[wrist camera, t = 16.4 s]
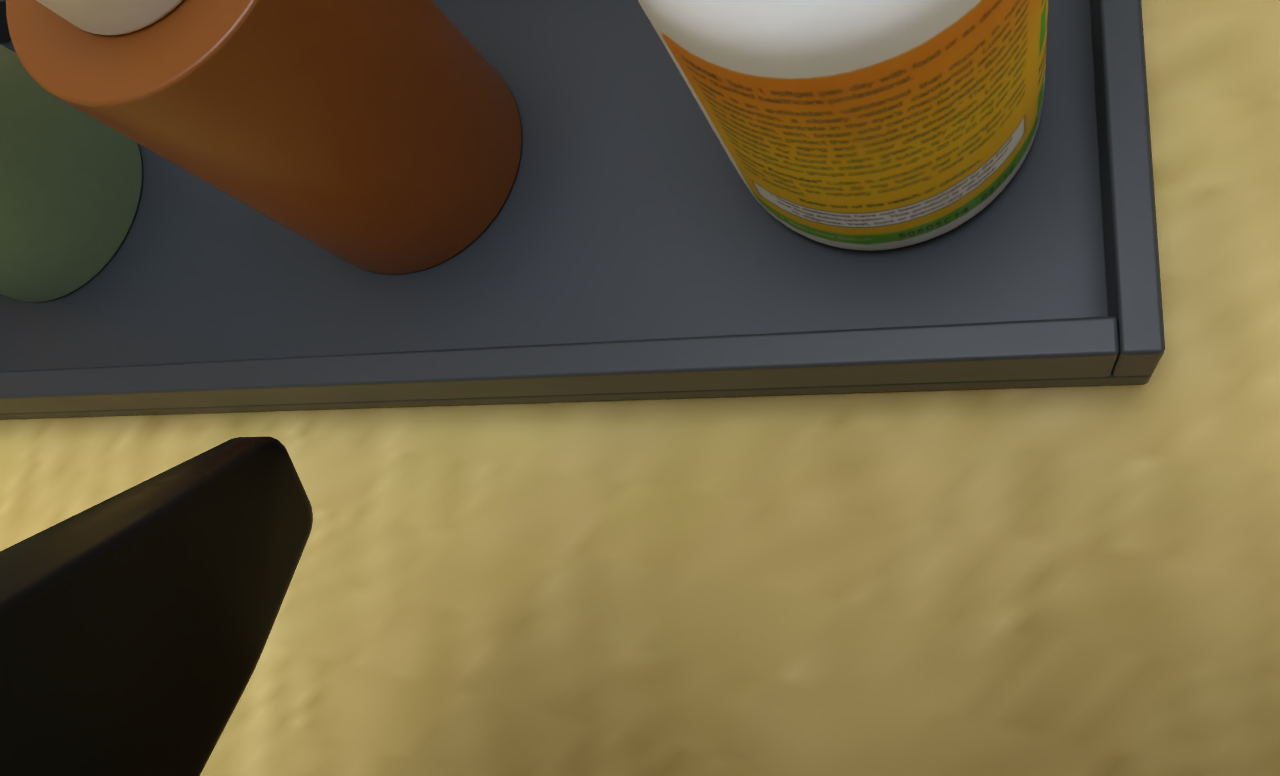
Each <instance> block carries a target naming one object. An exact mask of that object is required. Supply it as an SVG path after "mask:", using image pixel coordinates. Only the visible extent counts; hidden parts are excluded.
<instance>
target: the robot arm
mask: <svg viewBox="0 0 1280 776" xmlns="http://www.w3.org/2000/svg"><path fill="white" fill-rule="evenodd" d="M312 522H313V513H312V507H311V504H310V501H309V499H308V497H307V495H306V492H305V490H304V488H303V486H302V483H301V481H300V479H299V477H298V474H297V472H296V470H295V468H294V465H293V463H292V461H291V459H290V457H289V454H288V452H287V450H286V448H285V447H284V446H283V445H282V444H281V443H280V442H279V441H278V440H277V439H274V438H272V437H238V438H234V439H231V440H229V441H227V442H224V443H222V444H220V445H218V446H216V447H214V448H212V449H210V450H208V451H206V452H204V453H202V454H200V455H198V456H196V457H194V458H192V459H190V460H188V461H185V462H183V463H181V464H179V465H177V466H175V467H173V468H171V469H169V470H167V471H165V472H163V473H161V474H159V475H157V476H155V477H153V478H151V479H149V480H146V481H144V482H142V483H140V484H138V485H136V486H134V487H132V488H130V489H128V490H126V491H124V492H122V493H120V494H118V495H116V496H114V497H112V498H110V499H107V500H105V501H103V502H101V503H99V504H97V505H95V506H93V507H91V508H89V509H87V510H85V511H83V512H81V513H79V514H77V515H75V516H73V517H70V518H68V519H66V520H64V521H62V522H60V523H58V524H56V525H54V526H52V527H50V528H48V529H46V530H44V531H42V532H40V533H38V534H36V535H34V536H31V537H29V538H27V539H25V540H23V541H21V542H19V543H17V544H15V545H13V546H11V547H9V548H7V549H5V550H3V551H1V552H0V776H200V774H201V772H202V770H203V768H204V766H205V764H206V763H207V761H208V759H209V757H210V755H211V753H212V751H213V749H214V747H215V745H216V743H217V741H218V739H219V738H220V736H221V734H222V732H223V730H224V728H225V726H226V724H227V722H228V720H229V718H230V716H231V715H232V713H233V711H234V709H235V707H236V705H237V703H238V701H239V699H240V697H241V695H242V693H243V691H244V689H245V687H246V685H247V683H248V681H249V679H250V677H251V675H252V673H253V671H254V669H255V667H256V665H257V662H258V660H259V658H260V655H261V653H262V651H263V649H264V646H265V644H266V641H267V639H268V636H269V634H270V631H271V629H272V626H273V624H274V622H275V619H276V617H277V614H278V612H279V609H280V607H281V604H282V602H283V599H284V597H285V594H286V592H287V589H288V587H289V584H290V582H291V579H292V577H293V575H294V572H295V570H296V567H297V565H298V562H299V560H300V557H301V555H302V552H303V550H304V547H305V545H306V542H307V540H308V537H309V535H310V532H311V528H312Z"/></svg>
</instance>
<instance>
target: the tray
mask: <svg viewBox="0 0 1280 776" xmlns="http://www.w3.org/2000/svg"><path fill="white" fill-rule="evenodd" d="M432 1H433V2H434V3H435V4H436V5H437V6H438V7H439V9H440V10H441V11H442V12H443V13H444V14H445V15H446V16H447V17H448V18H449V20H450V21H451V22H452V23H453V24H454V25H455V26H456V27H457V28H458V29H459V31H460V32H461V33H462V34H463V35H464V36H465V37H466V38H467V39H468V41H469V42H470V43H471V44H472V45H473V46H474V47H475V48H476V49H477V50H478V52H479V53H480V54H481V55H482V56H483V57H484V58H485V59H486V60H487V61H488V63H489V64H490V65H491V66H492V67H493V68H494V69H495V70H496V71H497V72H498V74H499V75H500V76H501V77H502V79H503V80H504V81H505V83H506V84H507V86H508V87H509V89H510V91H511V93H512V95H513V97H514V100H515V103H516V105H517V108H518V112H519V117H520V122H521V136H522V143H521V156H520V161H519V166H518V171H517V174H516V177H515V180H514V183H513V186H512V188H511V190H510V192H509V195H508V197H507V199H506V201H505V203H504V204H503V206H502V208H501V209H500V211H499V213H498V214H497V216H496V217H495V218H494V219H493V221H492V222H491V223H490V225H489V226H488V227H487V228H486V229H485V230H484V232H483V233H482V234H481V235H480V236H479V237H478V238H477V239H476V240H475V241H473V242H472V243H471V244H470V245H469V246H467V247H466V248H465V249H464V250H462V251H461V252H459V253H458V254H456V255H455V256H453V257H452V258H450V259H448V260H446V261H444V262H442V263H440V264H438V265H436V266H433V267H430V268H427V269H424V270H421V271H416V272H411V273H405V274H381V273H375V272H371V271H366V270H364V269H361V268H359V267H356V266H354V265H352V264H350V263H348V262H347V261H345V260H343V259H341V258H340V257H338V256H336V255H334V254H333V253H331V252H329V251H327V250H325V249H324V248H322V247H320V246H318V245H317V244H315V243H313V242H311V241H310V240H308V239H306V238H304V237H302V236H301V235H299V234H297V233H295V232H294V231H292V230H290V229H288V228H287V227H285V226H283V225H281V224H280V223H278V222H276V221H274V220H272V219H271V218H269V217H267V216H265V215H264V214H262V213H260V212H258V211H257V210H255V209H253V208H251V207H250V206H248V205H246V204H244V203H242V202H241V201H239V200H237V199H235V198H234V197H232V196H230V195H228V194H227V193H225V192H223V191H221V190H219V189H218V188H216V187H214V186H212V185H211V184H209V183H207V182H205V181H204V180H202V179H200V178H198V177H197V176H195V175H193V174H191V173H189V172H188V171H186V170H184V169H182V168H181V167H179V166H177V165H175V164H174V163H172V162H170V161H168V160H167V159H165V158H163V157H161V156H159V155H158V154H156V153H154V152H152V151H151V150H149V149H147V148H145V147H144V146H142V145H140V144H138V146H139V149H140V154H141V159H142V171H143V174H142V189H141V195H140V200H139V204H138V208H137V212H136V214H135V217H134V220H133V223H132V225H131V227H130V229H129V231H128V233H127V235H126V238H125V239H124V241H123V243H122V244H121V246H120V247H119V249H118V251H117V252H116V253H115V255H114V256H113V257H112V259H111V260H110V261H109V262H108V264H107V265H106V266H105V267H104V268H103V269H102V270H101V271H100V272H99V273H98V274H97V275H96V276H95V277H93V278H92V279H91V280H90V281H89V282H87V283H86V284H85V285H83V286H82V287H80V288H79V289H77V290H75V291H73V292H71V293H70V294H68V295H65V296H62V297H60V298H57V299H53V300H49V301H44V302H24V301H19V300H16V299H12V298H9V297H7V296H4V295H1V294H0V419H28V418H61V417H93V416H125V415H157V414H189V413H222V412H254V411H286V410H318V409H351V408H383V407H415V406H447V405H480V404H512V403H544V402H576V401H608V400H641V399H673V398H705V397H737V396H770V395H802V394H834V393H866V392H899V391H931V390H963V389H995V388H1027V387H1060V386H1092V385H1124V384H1145V383H1147V382H1148V381H1149V379H1150V377H1151V375H1152V373H1153V371H1154V369H1155V368H1156V366H1157V364H1158V362H1159V360H1160V358H1161V356H1162V355H1163V353H1164V350H1165V340H1164V326H1163V311H1162V297H1161V282H1160V268H1159V253H1158V239H1157V224H1156V210H1155V195H1154V181H1153V166H1152V152H1151V137H1150V123H1149V108H1148V94H1147V79H1146V65H1145V50H1144V36H1143V21H1142V7H1141V0H1048V18H1047V41H1046V70H1045V87H1044V97H1043V105H1042V112H1041V116H1040V121H1039V126H1038V129H1037V132H1036V135H1035V138H1034V141H1033V143H1032V145H1031V148H1030V150H1029V152H1028V154H1027V156H1026V158H1025V160H1024V161H1023V163H1022V165H1021V166H1020V168H1019V169H1018V171H1017V172H1016V174H1015V175H1014V177H1013V178H1012V179H1011V180H1010V182H1009V183H1008V184H1007V186H1006V187H1005V188H1004V189H1003V191H1002V192H1001V193H1000V194H999V195H998V196H997V197H996V198H995V199H994V200H993V201H992V202H991V203H990V204H988V205H987V206H986V207H985V208H984V209H983V210H982V211H980V212H979V213H978V214H976V215H975V216H974V217H972V218H970V219H969V220H967V221H966V222H964V223H963V224H961V225H959V226H958V227H956V228H955V229H953V230H950V231H948V232H946V233H944V234H942V235H940V236H937V237H935V238H932V239H930V240H927V241H924V242H920V243H917V244H914V245H910V246H905V247H901V248H896V249H890V250H877V251H864V250H851V249H844V248H838V247H833V246H830V245H826V244H823V243H820V242H817V241H814V240H812V239H810V238H807V237H805V236H803V235H801V234H799V233H797V232H795V231H793V230H792V229H790V228H788V227H787V226H785V225H784V224H783V223H781V222H780V221H778V220H777V219H776V218H774V217H773V216H772V215H771V214H770V213H769V212H767V211H766V210H765V209H764V208H763V206H762V205H761V204H760V203H759V202H758V201H757V200H756V199H755V197H754V196H753V195H752V193H751V192H750V190H749V189H748V187H747V186H746V184H745V183H744V181H743V180H742V178H741V177H740V175H739V173H738V172H737V170H736V169H735V167H734V165H733V163H732V162H731V160H730V158H729V157H728V155H727V153H726V151H725V150H724V148H723V146H722V145H721V143H720V141H719V139H718V138H717V136H716V134H715V132H714V131H713V129H712V127H711V125H710V124H709V122H708V120H707V118H706V117H705V115H704V113H703V111H702V110H701V108H700V106H699V104H698V103H697V101H696V99H695V97H694V96H693V94H692V92H691V91H690V89H689V87H688V85H687V84H686V82H685V80H684V78H683V77H682V75H681V73H680V71H679V70H678V68H677V66H676V65H675V63H674V61H673V59H672V58H671V56H670V54H669V52H668V51H667V49H666V47H665V46H664V44H663V42H662V40H661V39H660V37H659V35H658V34H657V32H656V30H655V29H654V27H653V25H652V24H651V22H650V20H649V19H648V17H647V15H646V14H645V12H644V10H643V9H642V7H641V5H640V3H639V2H638V0H432ZM0 44H1V45H3V46H4V47H6V48H8V49H9V50H11V51H13V52H15V50H14V46H13V43H12V40H11V37H10V34H9V29H8V23H7V17H6V0H0ZM15 53H16V52H15Z"/></svg>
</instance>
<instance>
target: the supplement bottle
mask: <svg viewBox="0 0 1280 776" xmlns="http://www.w3.org/2000/svg"><path fill="white" fill-rule="evenodd" d="M638 2H639V3H640V5H641V7H642V9H643V10H644V12H645V14H646V15H647V17H648V19H649V20H650V22H651V24H652V25H653V27H654V29H655V30H656V32H657V34H658V35H659V37H660V39H661V40H662V42H663V44H664V46H665V47H666V49H667V51H668V52H669V54H670V56H671V58H672V59H673V61H674V63H675V65H676V66H677V68H678V70H679V71H680V73H681V75H682V77H683V78H684V80H685V82H686V84H687V85H688V87H689V89H690V91H691V92H692V94H693V96H694V97H695V99H696V101H697V103H698V104H699V106H700V108H701V110H702V111H703V113H704V115H705V117H706V118H707V120H708V122H709V124H710V125H711V127H712V129H713V131H714V132H715V134H716V136H717V138H718V139H719V141H720V143H721V145H722V146H723V148H724V150H725V151H726V153H727V155H728V157H729V158H730V160H731V162H732V163H733V165H734V167H735V169H736V170H737V172H738V173H739V175H740V177H741V178H742V180H743V181H744V183H745V184H746V186H747V187H748V189H749V190H750V192H751V193H752V195H753V196H754V197H755V199H756V200H757V201H758V202H759V203H760V204H761V205H762V206H763V208H764V209H765V210H766V211H767V212H769V213H770V214H771V215H772V216H773V217H774V218H776V219H777V220H778V221H780V222H781V223H783V224H784V225H785V226H787V227H788V228H790V229H792V230H793V231H795V232H797V233H799V234H801V235H803V236H805V237H807V238H810V239H812V240H814V241H817V242H820V243H823V244H826V245H830V246H833V247H838V248H844V249H851V250H864V251H877V250H890V249H896V248H901V247H905V246H910V245H914V244H917V243H920V242H924V241H927V240H930V239H932V238H935V237H937V236H940V235H942V234H944V233H946V232H948V231H950V230H953V229H955V228H956V227H958V226H959V225H961V224H963V223H964V222H966V221H967V220H969V219H970V218H972V217H974V216H975V215H976V214H978V213H979V212H980V211H982V210H983V209H984V208H985V207H986V206H987V205H988V204H990V203H991V202H992V201H993V200H994V199H995V198H996V197H997V196H998V195H999V194H1000V193H1001V192H1002V191H1003V189H1004V188H1005V187H1006V186H1007V184H1008V183H1009V182H1010V180H1011V179H1012V178H1013V177H1014V175H1015V174H1016V172H1017V171H1018V169H1019V168H1020V166H1021V165H1022V163H1023V161H1024V160H1025V158H1026V156H1027V154H1028V152H1029V150H1030V148H1031V145H1032V143H1033V141H1034V138H1035V135H1036V132H1037V129H1038V126H1039V121H1040V116H1041V112H1042V105H1043V97H1044V87H1045V70H1046V41H1047V18H1048V0H638Z"/></svg>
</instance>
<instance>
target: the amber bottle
mask: <svg viewBox="0 0 1280 776" xmlns="http://www.w3.org/2000/svg"><path fill="white" fill-rule="evenodd" d="M6 17H7V23H8V29H9V34H10V37H11V40H12V43H13V46H14V50H15V52H16V54H17V55H18V57H19V59H20V61H21V63H22V65H23V66H24V68H25V69H26V70H27V72H28V73H29V74H30V76H31V77H32V78H33V79H34V80H35V81H36V82H37V83H38V84H39V85H40V86H41V87H42V88H43V89H44V90H46V91H47V92H49V93H51V94H52V95H54V96H56V97H57V98H59V99H61V100H62V101H64V102H66V103H68V104H69V105H71V106H73V107H75V108H76V109H78V110H80V111H82V112H84V113H85V114H87V115H89V116H91V117H92V118H94V119H96V120H98V121H99V122H101V123H103V124H105V125H106V126H108V127H110V128H112V129H114V130H115V131H117V132H119V133H121V134H122V135H124V136H126V137H128V138H129V139H131V140H133V141H135V142H137V143H138V144H140V145H142V146H144V147H145V148H147V149H149V150H151V151H152V152H154V153H156V154H158V155H159V156H161V157H163V158H165V159H167V160H168V161H170V162H172V163H174V164H175V165H177V166H179V167H181V168H182V169H184V170H186V171H188V172H189V173H191V174H193V175H195V176H197V177H198V178H200V179H202V180H204V181H205V182H207V183H209V184H211V185H212V186H214V187H216V188H218V189H219V190H221V191H223V192H225V193H227V194H228V195H230V196H232V197H234V198H235V199H237V200H239V201H241V202H242V203H244V204H246V205H248V206H250V207H251V208H253V209H255V210H257V211H258V212H260V213H262V214H264V215H265V216H267V217H269V218H271V219H272V220H274V221H276V222H278V223H280V224H281V225H283V226H285V227H287V228H288V229H290V230H292V231H294V232H295V233H297V234H299V235H301V236H302V237H304V238H306V239H308V240H310V241H311V242H313V243H315V244H317V245H318V246H320V247H322V248H324V249H325V250H327V251H329V252H331V253H333V254H334V255H336V256H338V257H340V258H341V259H343V260H345V261H347V262H348V263H350V264H352V265H354V266H356V267H359V268H361V269H364V270H366V271H371V272H375V273H381V274H405V273H411V272H416V271H421V270H424V269H427V268H430V267H433V266H436V265H438V264H440V263H442V262H444V261H446V260H448V259H450V258H452V257H453V256H455V255H456V254H458V253H459V252H461V251H462V250H464V249H465V248H466V247H467V246H469V245H470V244H471V243H472V242H473V241H475V240H476V239H477V238H478V237H479V236H480V235H481V234H482V233H483V232H484V230H485V229H486V228H487V227H488V226H489V225H490V223H491V222H492V221H493V219H494V218H495V217H496V216H497V214H498V213H499V211H500V209H501V208H502V206H503V204H504V203H505V201H506V199H507V197H508V195H509V192H510V190H511V188H512V186H513V183H514V180H515V177H516V174H517V171H518V166H519V161H520V156H521V143H522V136H521V122H520V117H519V112H518V108H517V105H516V103H515V100H514V97H513V95H512V93H511V91H510V89H509V87H508V86H507V84H506V83H505V81H504V80H503V79H502V77H501V76H500V75H499V74H498V72H497V71H496V70H495V69H494V68H493V67H492V66H491V65H490V64H489V63H488V61H487V60H486V59H485V58H484V57H483V56H482V55H481V54H480V53H479V52H478V50H477V49H476V48H475V47H474V46H473V45H472V44H471V43H470V42H469V41H468V39H467V38H466V37H465V36H464V35H463V34H462V33H461V32H460V31H459V29H458V28H457V27H456V26H455V25H454V24H453V23H452V22H451V21H450V20H449V18H448V17H447V16H446V15H445V14H444V13H443V12H442V11H441V10H440V9H439V7H438V6H437V5H436V4H435V3H434V2H433V1H432V0H6Z"/></svg>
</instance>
